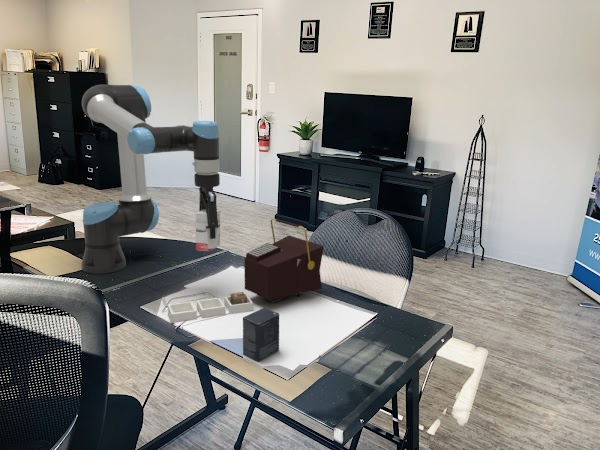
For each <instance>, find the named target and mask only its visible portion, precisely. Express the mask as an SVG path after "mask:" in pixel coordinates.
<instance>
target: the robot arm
mask: <svg viewBox="0 0 600 450" xmlns="http://www.w3.org/2000/svg"><path fill="white" fill-rule="evenodd" d="M81 107H82V110H83V112H84V114H85V115H86V116H87V117H88V118H89V119H90V120H92V121H93V122H95V123H99V124H100V123H101V124H102V125H103V124H104V125H105V126H106V127H108V128H109V129H110V130H112V131H114V133H117V135H116V136H117V143H118V144H117V146H118V156H119V167H120V181H121V189H122V190H121V191H122V194H121V195H120V196H119V198H118V204H117V203H116V202H114V201H101V202H95V203H93V204H90V205H87V206H86V207H85V208H84V209H83V211H82V223H83V225H82V226H83V233H84V246H85V247H84V248H85V250H84V253H83V257H82V260H81V270H82V271H83V272H85V273H88V274H94V275H95V274H96V275H98V274H111V273H114V272H118V271H120V270H121V271H122V270H123V269H124V268H126V266H127V259H126V257H125V254H124V252H123V250H122V246H121V244H120V237H124V236H129V235H135V234H136V235H137V234H140V233H141V234H143V233H146V232H149V231H152V230H153V229H155V228H156V227H157V224H158V222H159V218H160V217H159V216H160V211H159V207H158V204H157V203H156V202H155V201H154V200H152V196H151V195H150V194H149V193H147V192H148V191H147V181H146V167H145V155H149V154H159V153H170V152H184V151H185V152H193V161H194V162H192V163H191V166H193V170H194V172H195V173H194V175H193V176H194V186H195V187H198V190H199V209H198V212H199V211H201V210H204V209H206V214H207V222H208V226H206V229H207V241H208V249H212V248H214V249H217V248H218V247H217V229H216V228H217V227H218V218H217V210H218V206H217V194H216V193H215V192H214V188H215V187H219V186H220V184H221V183H220V181H221V180H220V179H221V178H220V173H219V172H221V171H220V133H219V124H218V122H217V121H213V120H196V121H193V122H192V126H188V125H181V124H180V125H175V126H152V125H151V124H148V123H147V122H146V120H147V119H148V118H149V117H150V116H151V113H152V103H151V98H150V96H149V94H148V93H147V91H146V90H145V89H144V88H143V87H142V86H139V85H133V84H132V85H131V84H125V85H124V84H97V85H94V86H91V87H90V88H88V89H87V90H86V91H85V92H84V94H83V95H82V99H81ZM212 223H213V224H212Z"/></svg>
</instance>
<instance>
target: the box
mask: <svg viewBox="0 0 600 450" xmlns="http://www.w3.org/2000/svg"><path fill="white" fill-rule="evenodd" d="M242 351H243V352H242V354H243V355H244V357H245V356H246V357H248V358H249V359H251V360H253V361H256V362H257V363H258V362H261V361H262V360H264V359H266V358H267V357H270V356H271V355H273V354H275V353H277V352H278V351H280V313H279V312H276V311H275V310H271V309H269V308H266V307H263V308H260V309H258V310H256V311H253V312H252V313H250V314H248V315H245V316H243V317H242Z"/></svg>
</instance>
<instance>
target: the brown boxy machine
mask: <svg viewBox="0 0 600 450" xmlns="http://www.w3.org/2000/svg"><path fill="white" fill-rule="evenodd" d="M273 221H276V222H278V223H281V224H284V225H288V226H292V227H295V228H296V227H297V228H301V229H302V230H303V231H304V235H305V236H304V238H305V239H302V238H299V237H295V236H292V235H287V236H285V237H283V238H281V239H279V240H277V241H276V237H275V236H276V235H275V232H274V231H275V229H274V225H273ZM270 226H271V227H270V228H271V234H272V239H273V243H269V242H266V243H264V244H262V245H260V246H258V247H256V248H254V249H252V250H251V251H248V252H246V254H245V258H244V290H247V291H249V292H250V293H253V294H256V295H257V296H259V297H260V298H261V299H265V300H267V301H269V302H271V303H273V304H277V302H278V301H281V300H283V299H286V298H289V297H293V296H295V295H296V297H297V298H300V297H301V296H300V295H301V294H302V293H307V292H312V291H317V290H321V289H322V287H323V286H322V281H321V280H322V279H321V265H322V264H321V263H322V259H323V253H324V247H325V245H322V244H318V243H315V242H312V241H309V240H308V234H307V230H306V228H305V227H304V226H302V225H299V224H296V223H293V222H289V221H286V220H282V219H279V218H277V219H276V218H272V219H271V220H270ZM322 290H323V289H322Z"/></svg>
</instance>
